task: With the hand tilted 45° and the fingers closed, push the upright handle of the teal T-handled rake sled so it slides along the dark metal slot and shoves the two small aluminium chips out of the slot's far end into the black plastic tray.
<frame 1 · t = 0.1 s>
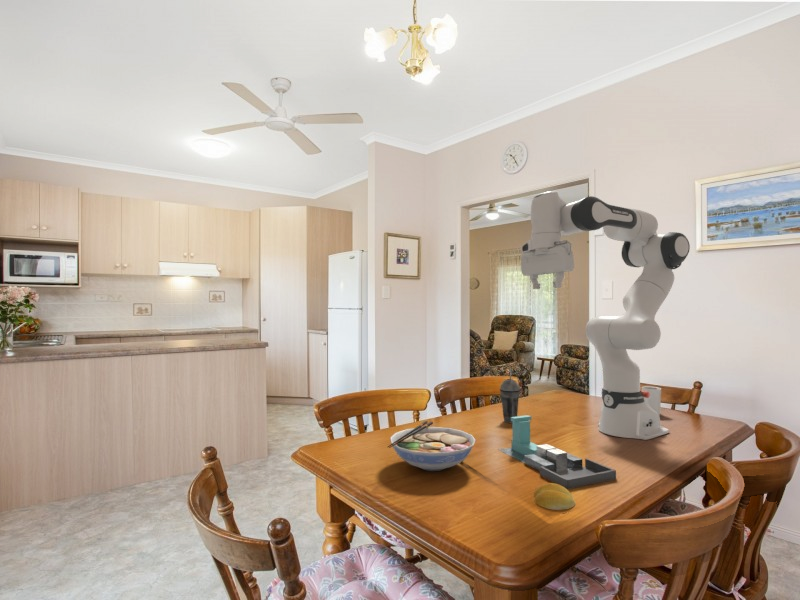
hand: (546, 288, 134), 48 cm above the table, tool pointing down, fingers open, 8 cm apart
beverage cup: (510, 422, 159), on the table
drinking glass: (651, 414, 169), on the table
ramen bowl: (432, 467, 115), on the table
tray: (577, 481, 104), on the table
rake tool: (521, 449, 124), point 1 cm above the table, touching slot board
slot board: (537, 461, 118), on the table
bread roll: (553, 506, 92), on the table
chip A: (546, 461, 115), point 1 cm above the table, touching slot board
chip B: (557, 467, 111), point 1 cm above the table, touching slot board
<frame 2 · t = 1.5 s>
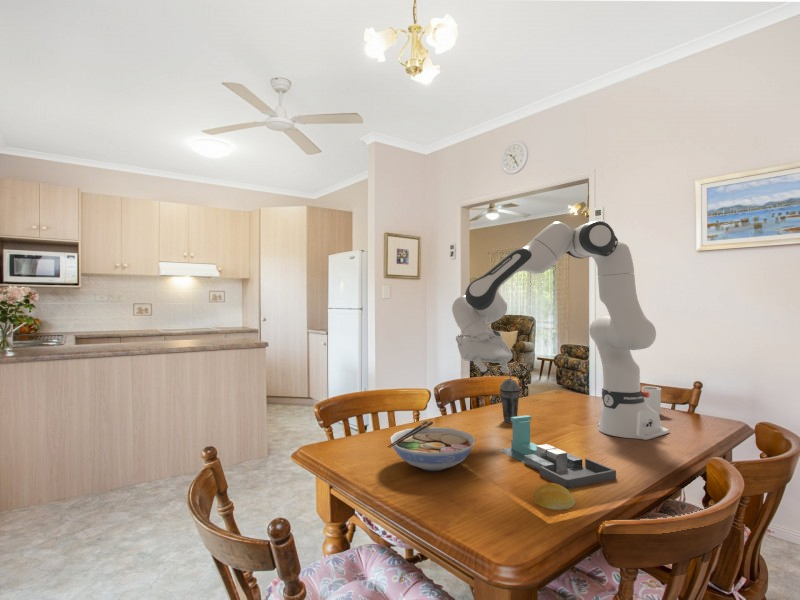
hand: (495, 371, 136), 22 cm above the table, tool tilted 40°, fingers open, 8 cm apart
nothing on the table moved.
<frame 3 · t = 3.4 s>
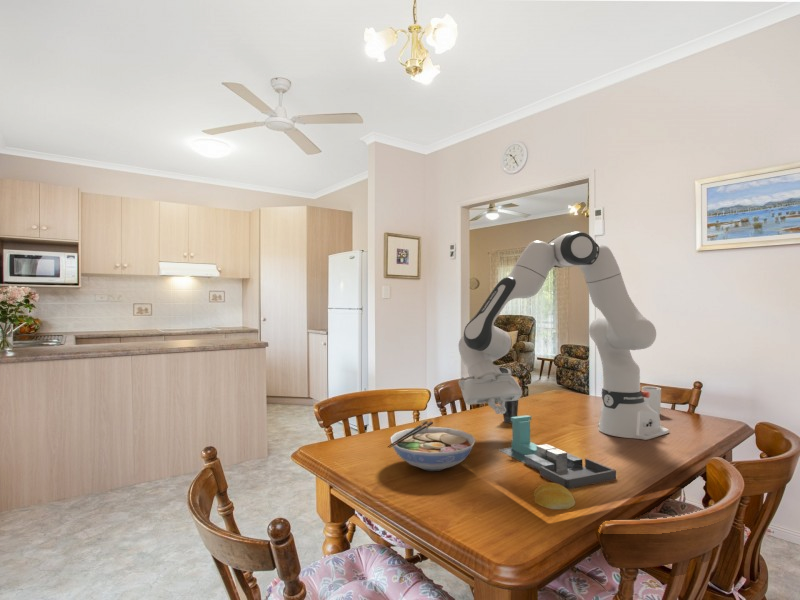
hand: (501, 412, 133), 10 cm above the table, tool tilted 45°, fingers closed
nothing on the table moved.
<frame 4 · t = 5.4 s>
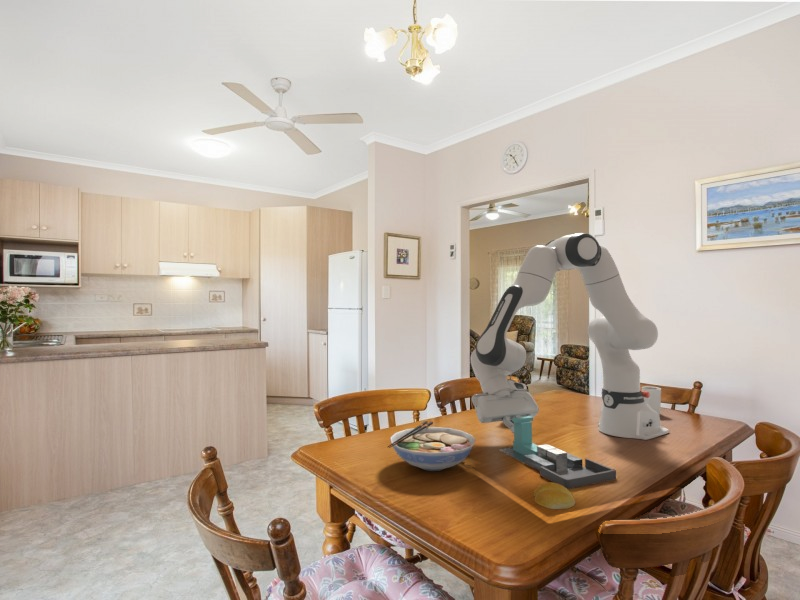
hand: (517, 431, 126), 6 cm above the table, tool tilted 45°, fingers closed, pressing on rake tool
rake tool: (523, 450, 123), point 1 cm above the table, touching chip A, gripper
chip A: (546, 462, 114), point 1 cm above the table, touching rake tool, slot board
everything else where it was.
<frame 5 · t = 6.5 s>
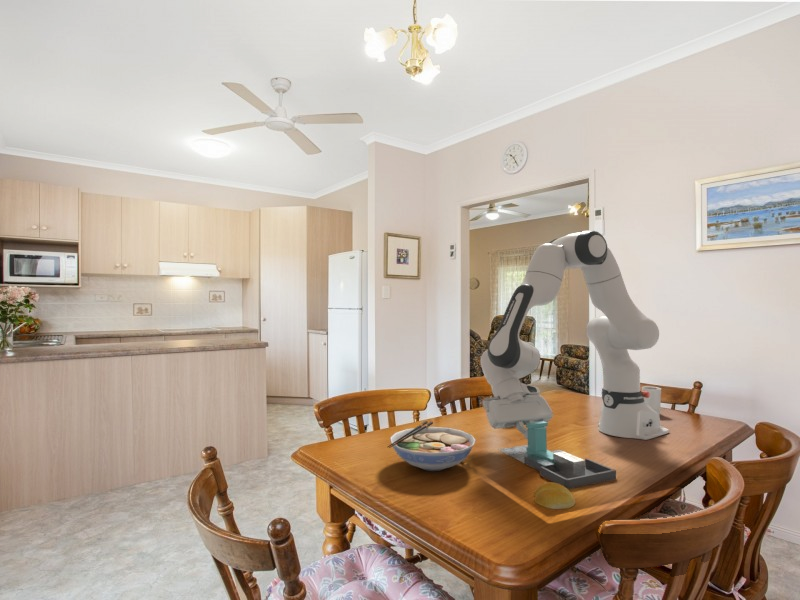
hand: (531, 437, 120), 6 cm above the table, tool tilted 45°, fingers closed, pressing on rake tool
rake tool: (537, 458, 118), point 1 cm above the table, touching gripper, slot board
chip A: (563, 470, 109), point 1 cm above the table, touching slot board, tray
chip B: (574, 475, 105), point 1 cm above the table, touching tray
everything else where it was.
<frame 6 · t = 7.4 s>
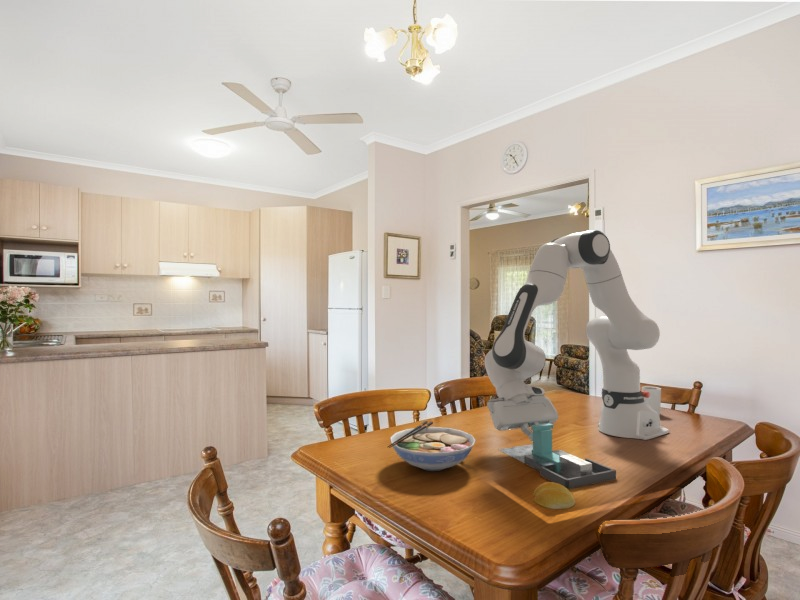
hand: (536, 439, 118), 6 cm above the table, tool tilted 45°, fingers closed, pressing on rake tool
rake tool: (542, 460, 115), point 1 cm above the table, touching chip A, gripper, slot board, tray
chip A: (570, 473, 106), point 1 cm above the table, touching chip B, rake tool, tray
chip B: (580, 478, 103), point 1 cm above the table, touching chip A, tray
everything else where it was.
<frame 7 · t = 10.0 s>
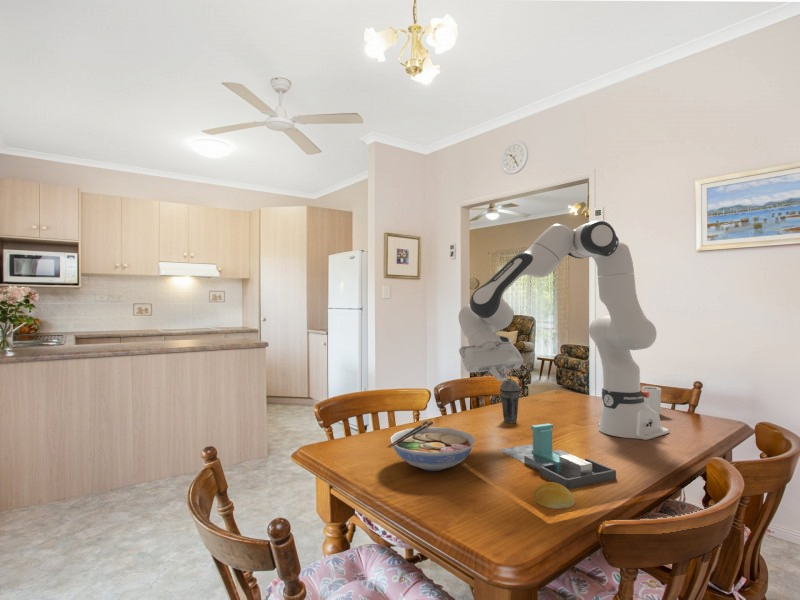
hand: (503, 379, 133), 20 cm above the table, tool tilted 45°, fingers closed
rake tool: (542, 460, 115), point 1 cm above the table, touching slot board, tray
chip A: (570, 473, 106), point 1 cm above the table, touching chip B, tray
everything else where it was.
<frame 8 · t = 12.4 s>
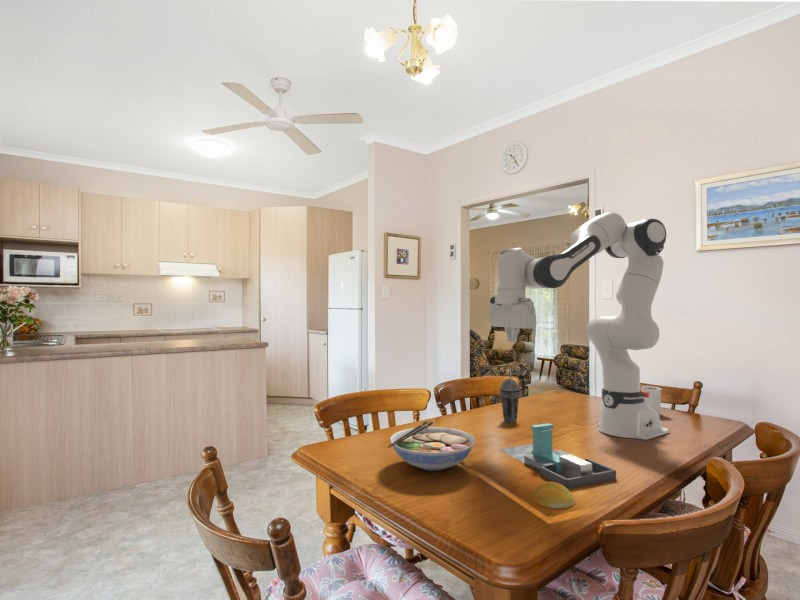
hand: (512, 341, 138), 31 cm above the table, tool pointing down, fingers closed
nothing on the table moved.
at the end: chip A inside the target area (2.2 cm from its centre), point 1.0 cm above the table; chip B inside the target area (1.3 cm from its centre), point 1.0 cm above the table; rake tool moved 9.5 cm from its start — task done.
